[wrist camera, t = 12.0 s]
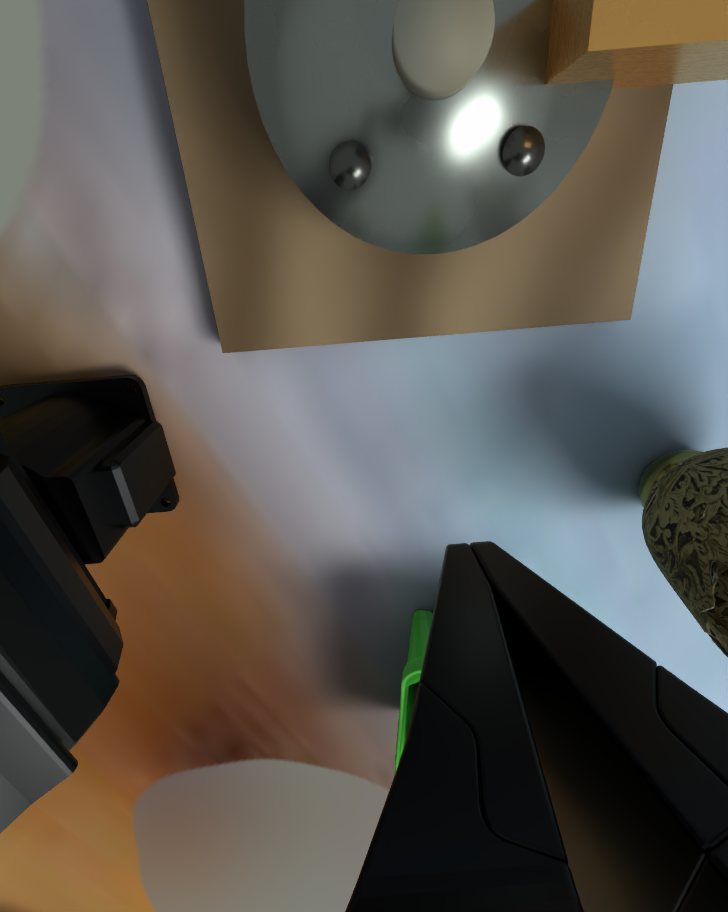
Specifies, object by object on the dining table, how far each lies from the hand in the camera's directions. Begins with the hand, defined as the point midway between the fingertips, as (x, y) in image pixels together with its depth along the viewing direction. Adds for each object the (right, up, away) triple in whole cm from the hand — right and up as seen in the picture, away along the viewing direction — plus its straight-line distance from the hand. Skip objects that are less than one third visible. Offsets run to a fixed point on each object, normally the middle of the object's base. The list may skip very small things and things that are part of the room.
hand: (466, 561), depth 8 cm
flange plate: (+2, +13, +4) cm, 14 cm away
